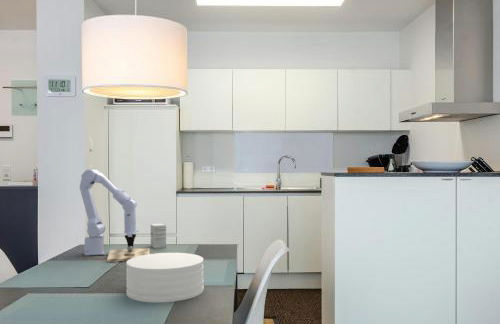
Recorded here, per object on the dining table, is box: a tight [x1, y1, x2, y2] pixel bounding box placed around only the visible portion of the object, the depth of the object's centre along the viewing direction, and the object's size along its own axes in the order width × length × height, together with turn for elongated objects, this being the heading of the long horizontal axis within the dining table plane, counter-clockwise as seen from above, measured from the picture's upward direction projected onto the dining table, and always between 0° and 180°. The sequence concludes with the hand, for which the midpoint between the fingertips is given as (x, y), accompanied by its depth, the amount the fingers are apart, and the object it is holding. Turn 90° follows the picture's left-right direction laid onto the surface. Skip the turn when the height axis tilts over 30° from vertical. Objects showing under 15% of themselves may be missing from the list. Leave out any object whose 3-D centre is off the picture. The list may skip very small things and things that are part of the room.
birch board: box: [106, 247, 151, 263], centre depth 229 cm, size 20×24×2 cm
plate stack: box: [125, 252, 205, 303], centre depth 167 cm, size 28×28×12 cm
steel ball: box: [126, 245, 134, 251], centre depth 234 cm, size 3×3×3 cm
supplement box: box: [150, 223, 167, 249], centre depth 255 cm, size 7×7×13 cm
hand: (130, 248), depth 236 cm, fingers closed, pressing on steel ball
